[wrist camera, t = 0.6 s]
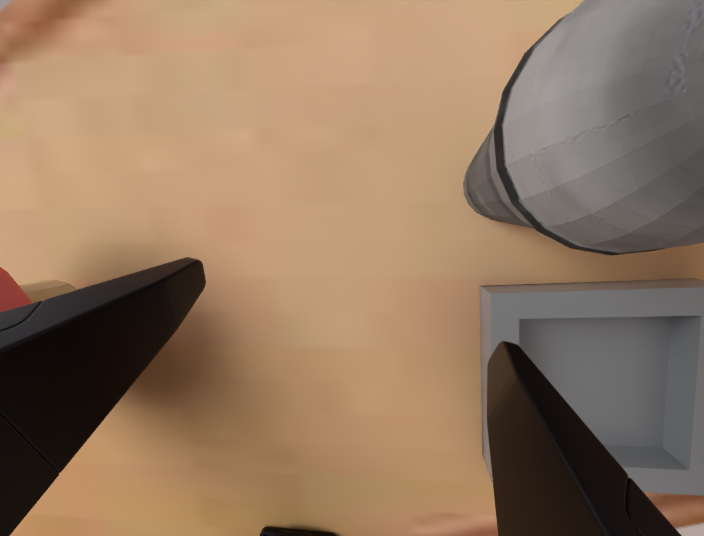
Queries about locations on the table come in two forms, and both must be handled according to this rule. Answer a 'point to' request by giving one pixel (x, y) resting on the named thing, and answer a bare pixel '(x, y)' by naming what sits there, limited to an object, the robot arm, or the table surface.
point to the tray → (615, 367)
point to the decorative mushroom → (28, 291)
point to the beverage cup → (603, 131)
